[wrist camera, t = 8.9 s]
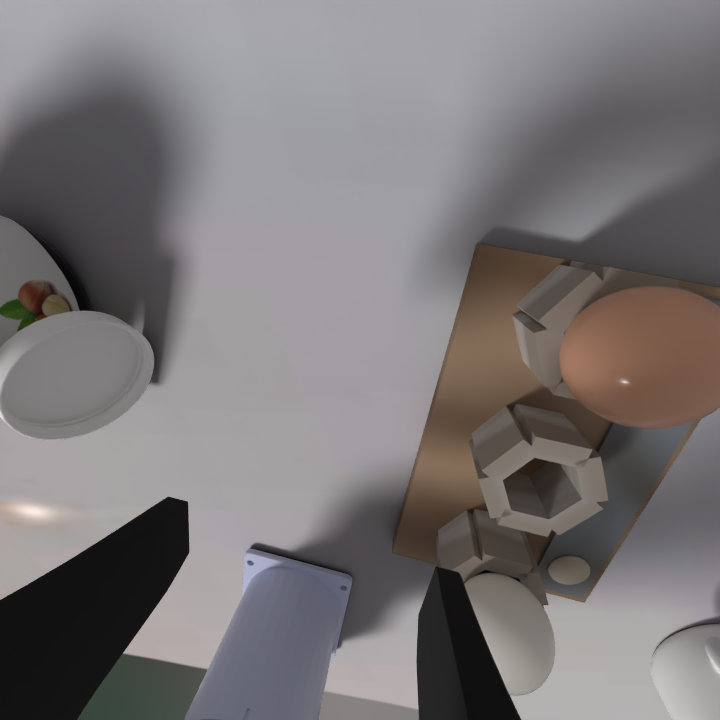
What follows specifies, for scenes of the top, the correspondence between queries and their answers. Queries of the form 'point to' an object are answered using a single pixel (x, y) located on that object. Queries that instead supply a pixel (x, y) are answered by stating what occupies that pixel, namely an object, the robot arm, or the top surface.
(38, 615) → the robot arm
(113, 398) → the spread jar
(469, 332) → the brown egg holder tray
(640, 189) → the top surface
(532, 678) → the cream ball
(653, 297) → the terracotta ball
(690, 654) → the mug
